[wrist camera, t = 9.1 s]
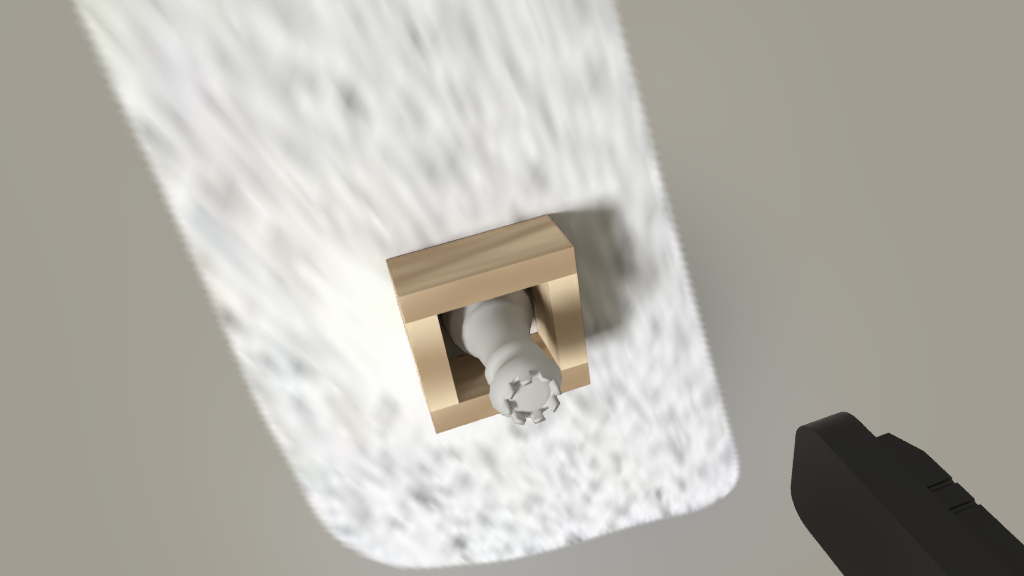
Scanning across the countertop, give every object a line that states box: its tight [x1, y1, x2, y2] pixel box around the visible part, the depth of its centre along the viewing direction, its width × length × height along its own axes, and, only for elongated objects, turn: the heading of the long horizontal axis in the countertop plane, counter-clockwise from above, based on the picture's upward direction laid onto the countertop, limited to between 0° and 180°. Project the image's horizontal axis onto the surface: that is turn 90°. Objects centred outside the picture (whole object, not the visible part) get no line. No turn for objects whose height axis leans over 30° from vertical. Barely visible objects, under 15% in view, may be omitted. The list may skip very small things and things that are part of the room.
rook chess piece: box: [442, 289, 563, 425], centre depth 35 cm, size 4×4×8 cm
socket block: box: [386, 215, 590, 434], centre depth 36 cm, size 8×8×4 cm
